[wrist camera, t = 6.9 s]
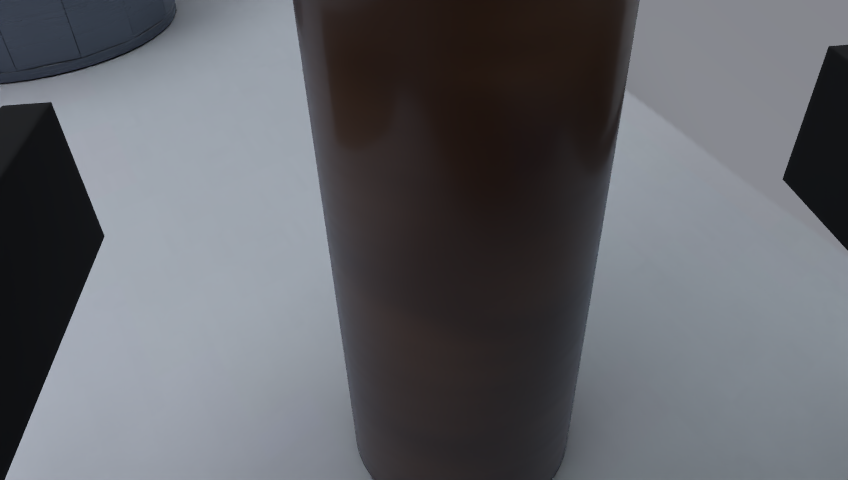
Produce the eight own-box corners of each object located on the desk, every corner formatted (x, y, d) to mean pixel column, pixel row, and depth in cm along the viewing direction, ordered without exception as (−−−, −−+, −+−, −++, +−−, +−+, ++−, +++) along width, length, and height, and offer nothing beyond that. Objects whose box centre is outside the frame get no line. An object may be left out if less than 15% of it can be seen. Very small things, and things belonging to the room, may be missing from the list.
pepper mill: (539, 337, 18) (618, -382, 9) (593, 507, 14) (803, -425, 6) (353, 354, 18) (257, -371, 9) (358, 532, 14) (204, -406, 5)
